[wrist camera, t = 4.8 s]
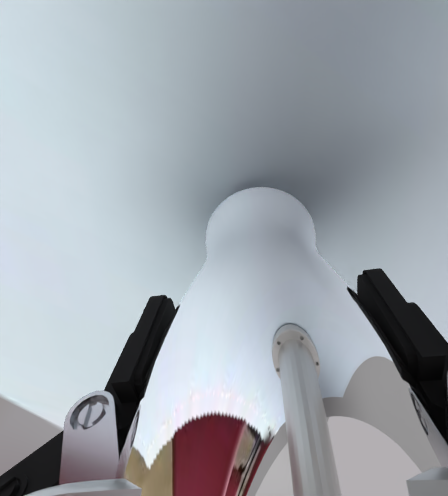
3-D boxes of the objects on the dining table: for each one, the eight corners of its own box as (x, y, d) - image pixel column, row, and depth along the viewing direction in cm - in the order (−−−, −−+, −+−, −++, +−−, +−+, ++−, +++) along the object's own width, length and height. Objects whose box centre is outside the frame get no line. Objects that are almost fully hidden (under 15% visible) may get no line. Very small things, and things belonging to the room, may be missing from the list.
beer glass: (174, 243, 18) (-29, 680, 5) (254, 149, 15) (300, 555, 2) (263, 307, 20) (296, 761, 6) (349, 232, 17) (717, 754, 4)
